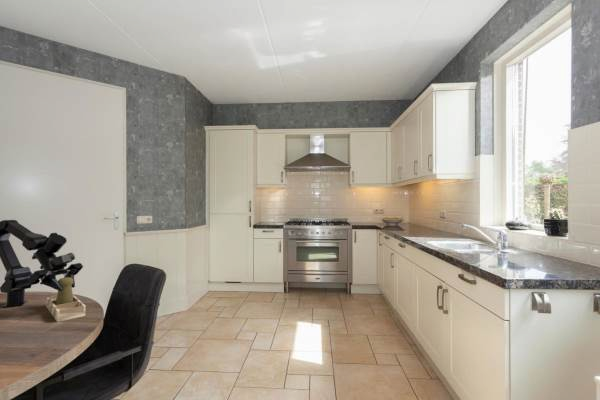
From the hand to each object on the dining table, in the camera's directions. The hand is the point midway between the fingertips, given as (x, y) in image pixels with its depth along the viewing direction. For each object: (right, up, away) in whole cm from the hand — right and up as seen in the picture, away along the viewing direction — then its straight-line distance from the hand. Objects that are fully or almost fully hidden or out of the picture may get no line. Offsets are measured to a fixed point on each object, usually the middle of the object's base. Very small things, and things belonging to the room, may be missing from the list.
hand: (67, 288), depth 122 cm
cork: (-2, -7, 0) cm, 7 cm away
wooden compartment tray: (-1, -9, 0) cm, 9 cm away
